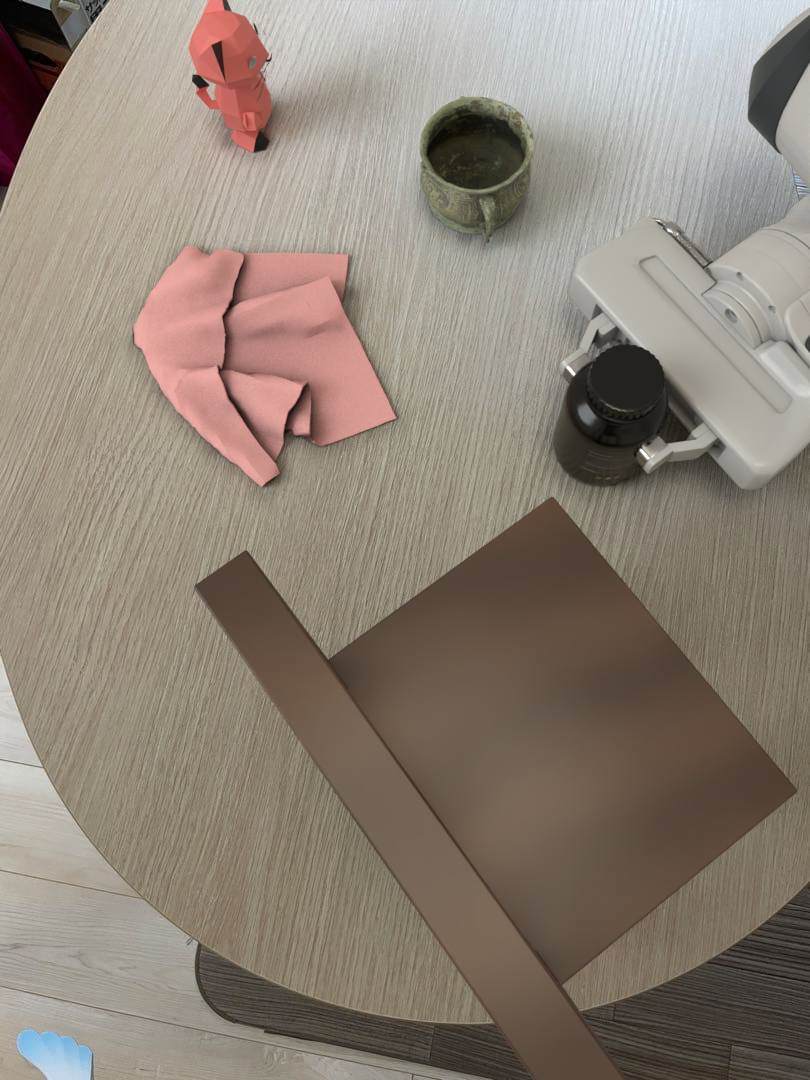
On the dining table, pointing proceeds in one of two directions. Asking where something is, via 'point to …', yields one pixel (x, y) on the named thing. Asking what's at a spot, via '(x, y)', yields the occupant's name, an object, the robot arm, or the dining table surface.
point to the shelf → (517, 762)
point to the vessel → (475, 163)
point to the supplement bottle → (611, 415)
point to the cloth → (259, 353)
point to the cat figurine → (232, 72)
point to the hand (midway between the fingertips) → (603, 419)
